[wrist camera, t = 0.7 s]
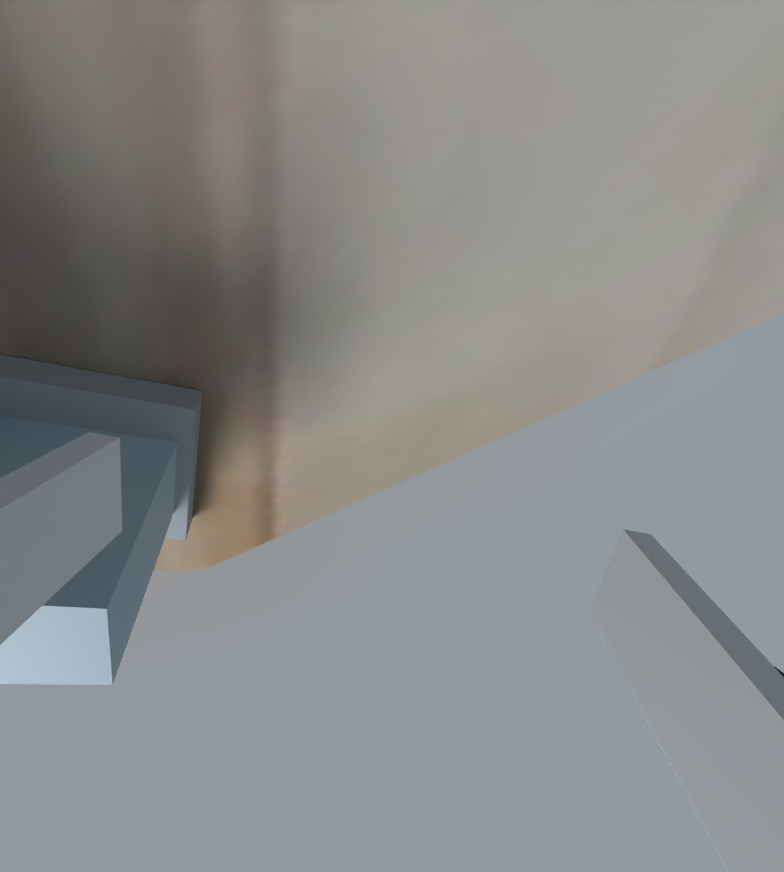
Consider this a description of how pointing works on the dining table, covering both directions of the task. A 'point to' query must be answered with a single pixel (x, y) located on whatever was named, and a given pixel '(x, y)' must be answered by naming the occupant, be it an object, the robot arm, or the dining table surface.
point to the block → (92, 564)
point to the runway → (110, 414)
